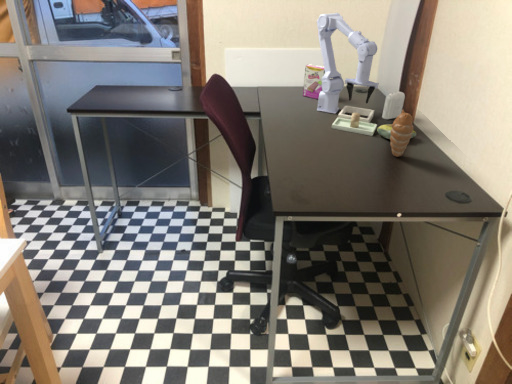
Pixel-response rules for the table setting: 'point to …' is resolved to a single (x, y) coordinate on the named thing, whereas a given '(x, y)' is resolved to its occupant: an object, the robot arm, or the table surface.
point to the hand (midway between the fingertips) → (358, 101)
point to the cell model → (389, 131)
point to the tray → (362, 128)
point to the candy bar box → (313, 81)
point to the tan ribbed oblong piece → (401, 133)
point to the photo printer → (393, 105)
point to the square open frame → (356, 110)
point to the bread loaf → (355, 120)
